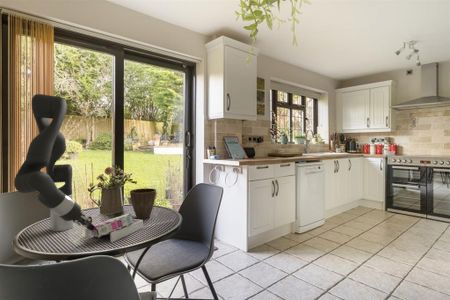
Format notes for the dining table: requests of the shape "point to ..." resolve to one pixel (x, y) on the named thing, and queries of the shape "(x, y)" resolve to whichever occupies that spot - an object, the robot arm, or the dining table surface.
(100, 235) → the candy bar box
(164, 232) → the dining table surface
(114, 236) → the grey bracket
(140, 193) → the plant pot
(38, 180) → the robot arm
